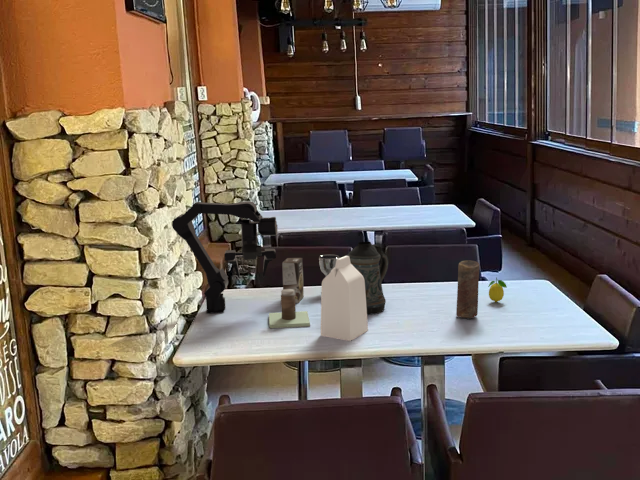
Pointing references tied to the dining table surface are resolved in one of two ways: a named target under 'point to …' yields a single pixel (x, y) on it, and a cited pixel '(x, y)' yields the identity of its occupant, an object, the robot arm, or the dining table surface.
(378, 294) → the beer stein
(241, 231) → the robot arm
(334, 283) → the milk
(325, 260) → the wine glass
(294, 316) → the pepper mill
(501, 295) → the lemon
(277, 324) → the serving board
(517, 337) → the dining table surface
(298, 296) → the coffee box
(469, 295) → the candle
